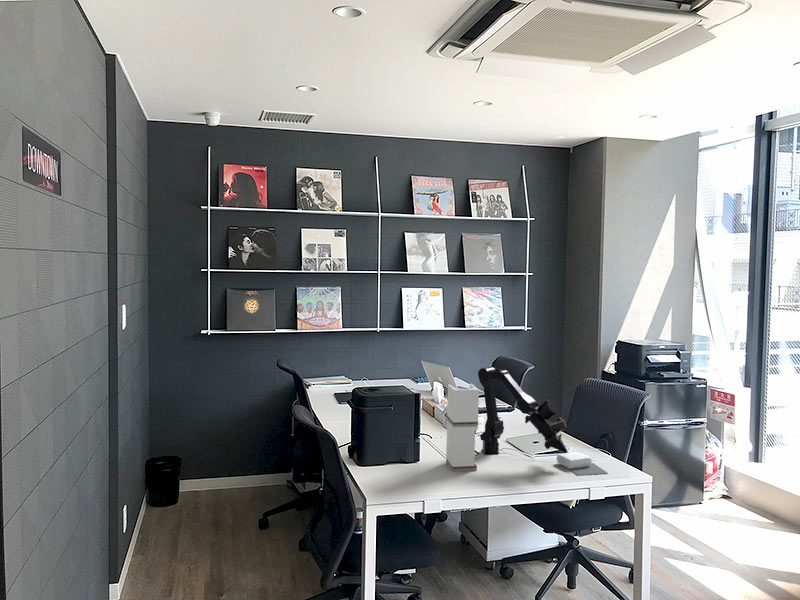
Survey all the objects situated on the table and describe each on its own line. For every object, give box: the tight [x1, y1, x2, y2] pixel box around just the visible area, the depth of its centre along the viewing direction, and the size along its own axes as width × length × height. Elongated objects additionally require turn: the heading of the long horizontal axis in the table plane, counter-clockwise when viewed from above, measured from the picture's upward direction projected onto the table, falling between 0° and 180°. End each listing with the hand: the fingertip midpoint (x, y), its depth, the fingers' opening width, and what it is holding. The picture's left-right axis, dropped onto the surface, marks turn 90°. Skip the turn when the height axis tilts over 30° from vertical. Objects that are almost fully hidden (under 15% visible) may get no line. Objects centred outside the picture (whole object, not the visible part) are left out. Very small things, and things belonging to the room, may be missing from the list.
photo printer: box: [556, 451, 593, 469], centre depth 295 cm, size 10×4×12 cm
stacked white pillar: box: [445, 383, 480, 473], centre depth 289 cm, size 11×11×35 cm
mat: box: [567, 462, 609, 476], centre depth 290 cm, size 14×13×1 cm
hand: (566, 452), depth 290 cm, fingers closed
